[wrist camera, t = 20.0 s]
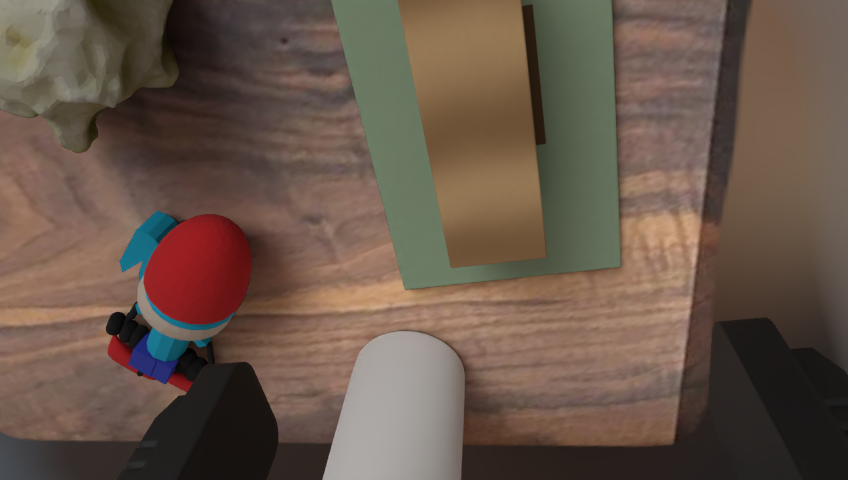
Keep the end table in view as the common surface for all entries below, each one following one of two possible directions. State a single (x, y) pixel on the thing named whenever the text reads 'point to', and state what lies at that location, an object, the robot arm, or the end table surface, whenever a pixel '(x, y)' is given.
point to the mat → (554, 133)
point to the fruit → (80, 60)
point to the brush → (478, 126)
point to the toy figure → (180, 294)
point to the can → (401, 412)
